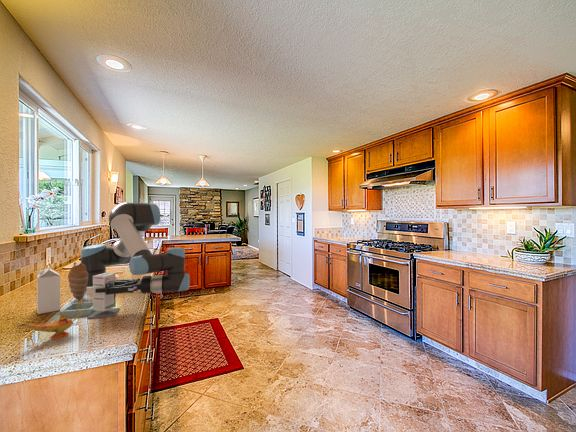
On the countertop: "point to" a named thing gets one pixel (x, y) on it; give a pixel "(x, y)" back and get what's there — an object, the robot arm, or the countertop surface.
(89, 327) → the countertop surface
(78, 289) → the cat ice cream
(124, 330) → the countertop surface
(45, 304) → the milk carton
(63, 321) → the magic lamp
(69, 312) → the corral
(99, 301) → the syrup box
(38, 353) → the countertop surface
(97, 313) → the coaster
